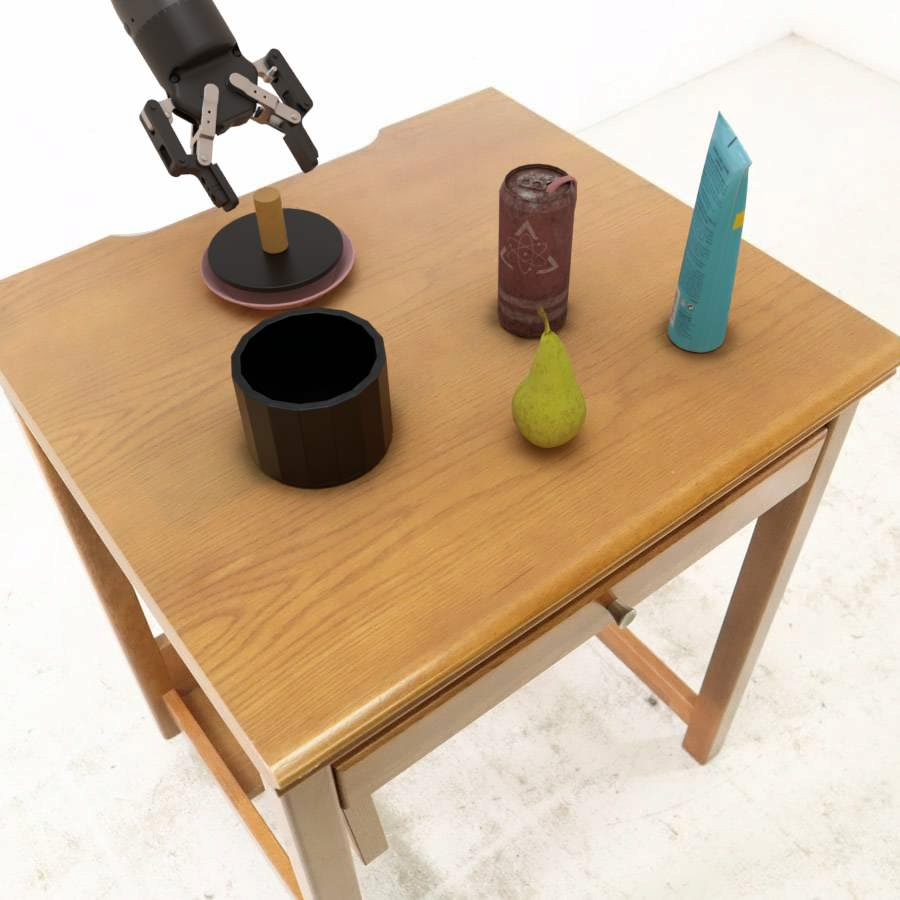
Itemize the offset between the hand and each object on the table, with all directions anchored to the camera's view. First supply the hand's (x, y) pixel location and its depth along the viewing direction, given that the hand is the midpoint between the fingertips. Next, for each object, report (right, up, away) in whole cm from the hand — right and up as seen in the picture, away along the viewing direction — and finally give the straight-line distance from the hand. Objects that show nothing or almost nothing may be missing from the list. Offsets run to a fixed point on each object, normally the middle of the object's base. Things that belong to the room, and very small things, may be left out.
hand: (273, 188), depth 92 cm
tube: (+37, -13, +1) cm, 39 cm away
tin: (+5, -21, -7) cm, 23 cm away
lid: (-1, -4, +6) cm, 8 cm away
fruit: (+23, -22, -7) cm, 33 cm away
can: (+23, -11, +3) cm, 25 cm away
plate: (-1, -6, +8) cm, 10 cm away
